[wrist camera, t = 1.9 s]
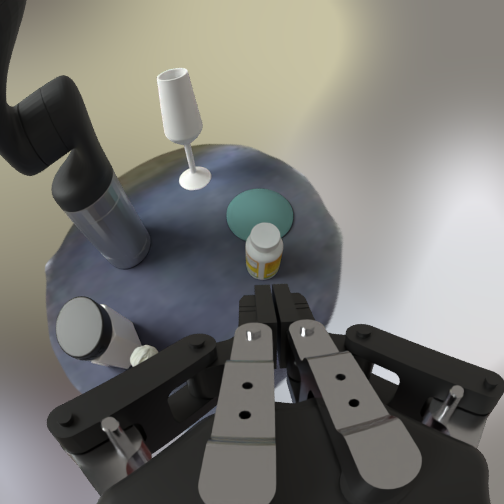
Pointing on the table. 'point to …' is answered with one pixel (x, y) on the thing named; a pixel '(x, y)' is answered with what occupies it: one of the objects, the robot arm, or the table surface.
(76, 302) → the jar
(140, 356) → the grandmother figurine
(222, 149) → the table surface
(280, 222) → the mat
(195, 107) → the champagne flute
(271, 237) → the supplement bottle
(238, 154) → the table surface
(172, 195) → the table surface
